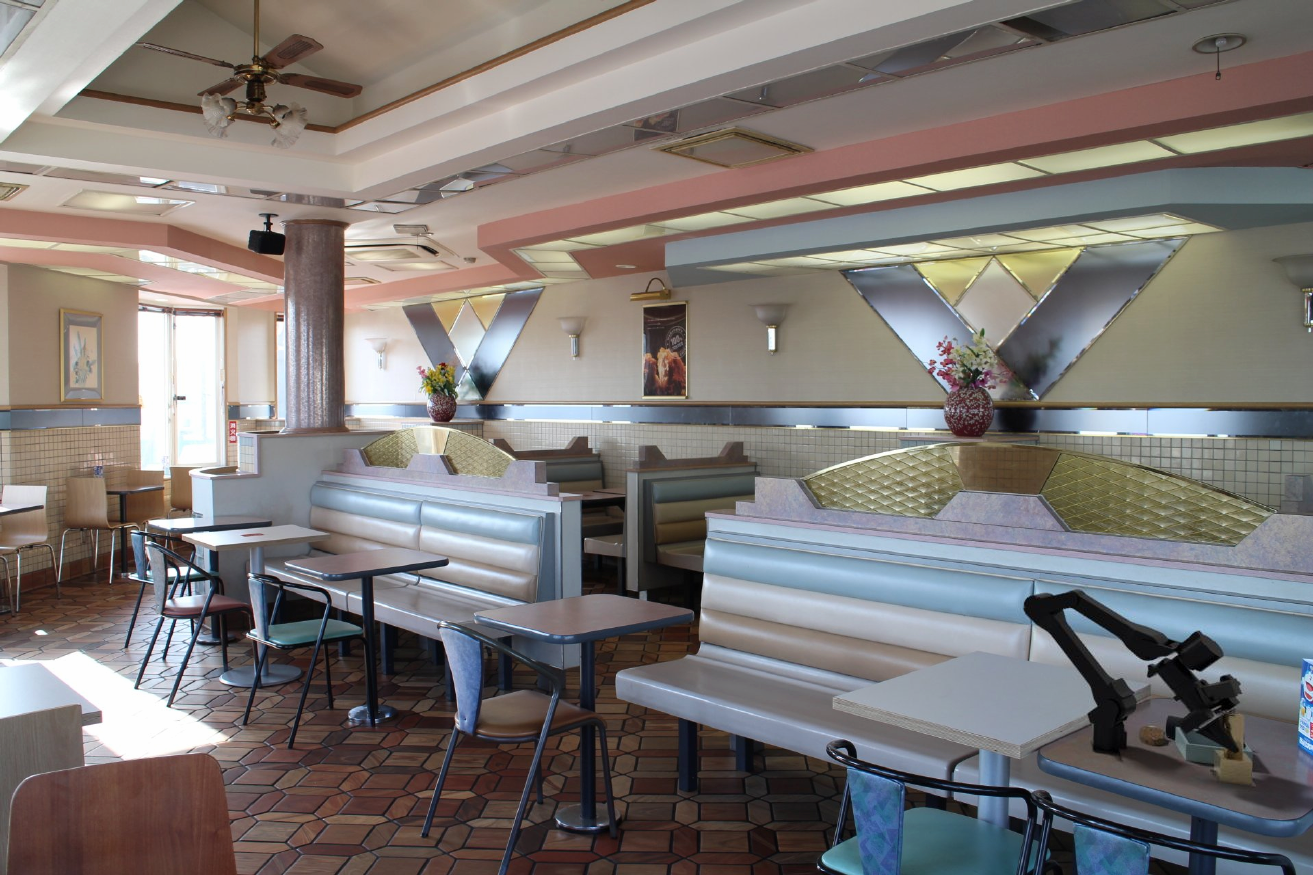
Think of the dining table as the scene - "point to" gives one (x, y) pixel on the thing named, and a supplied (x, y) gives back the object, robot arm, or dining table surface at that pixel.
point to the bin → (1200, 747)
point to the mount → (1229, 782)
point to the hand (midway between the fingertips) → (1241, 749)
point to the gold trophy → (1233, 754)
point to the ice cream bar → (1152, 735)
